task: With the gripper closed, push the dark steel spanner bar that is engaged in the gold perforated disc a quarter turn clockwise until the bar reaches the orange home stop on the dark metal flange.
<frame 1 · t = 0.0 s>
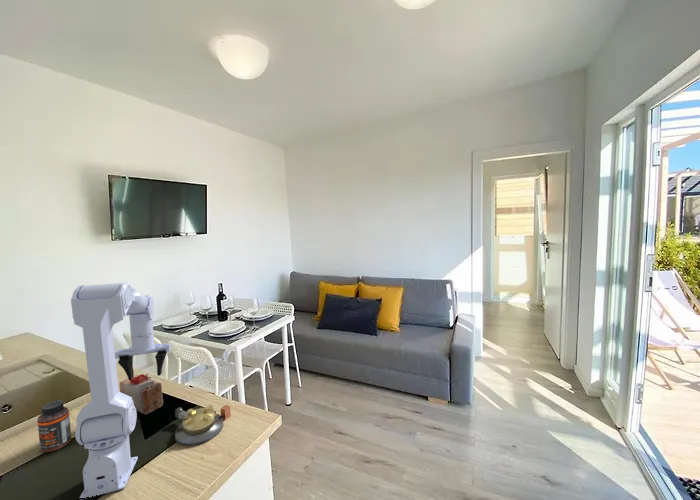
hand: (145, 376, 96), 10 cm above the cooktop, fingers open, 7 cm apart
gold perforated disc: (192, 416, 86), point 3 cm above the cooktop, hinge at 90.0°
flange: (200, 430, 85), on the cooktop
food item: (142, 405, 98), on the cooktop
supplement bottle: (56, 445, 80), on the cooktop
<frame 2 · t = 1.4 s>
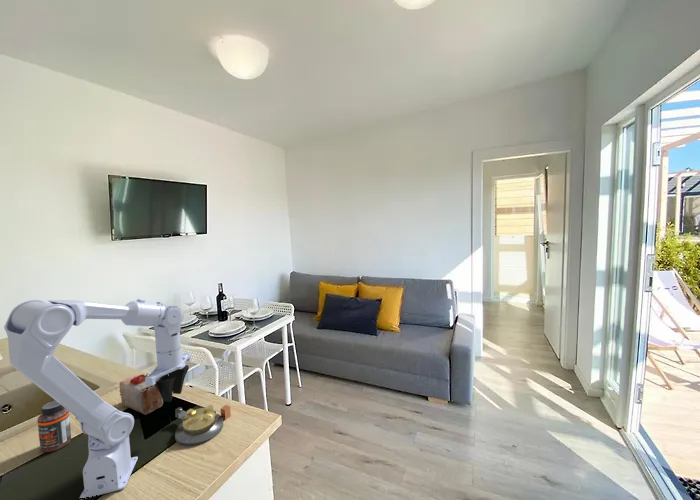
hand: (172, 396, 83), 10 cm above the cooktop, fingers open, 3 cm apart
nothing on the cooktop moved.
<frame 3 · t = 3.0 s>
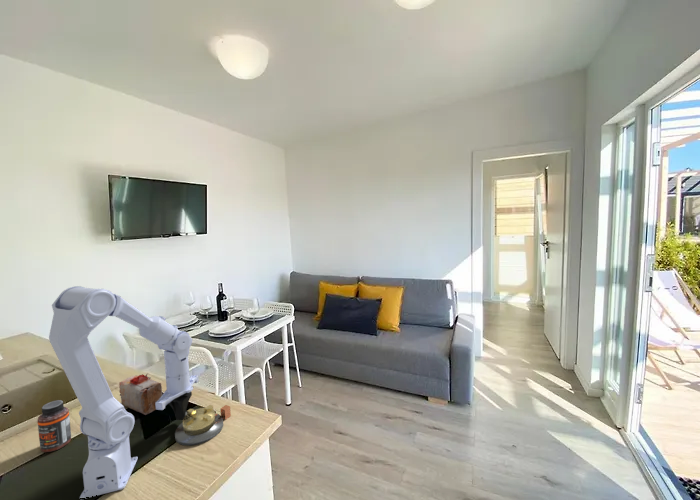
hand: (180, 418, 86), 2 cm above the cooktop, fingers closed, pressing on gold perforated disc
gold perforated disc: (192, 416, 86), point 3 cm above the cooktop, hinge at 89.9°, touching gripper
everything else where it was.
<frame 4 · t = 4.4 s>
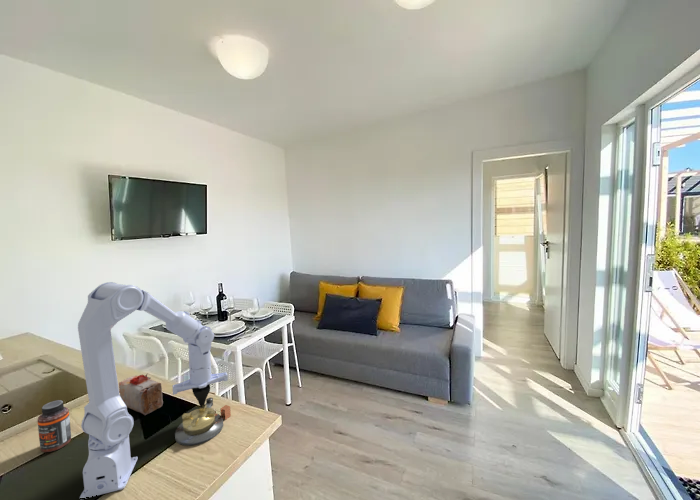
hand: (202, 409, 91), 2 cm above the cooktop, fingers closed, pressing on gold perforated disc
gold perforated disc: (202, 413, 88), point 3 cm above the cooktop, hinge at 32.6°, touching gripper
everything else where it was.
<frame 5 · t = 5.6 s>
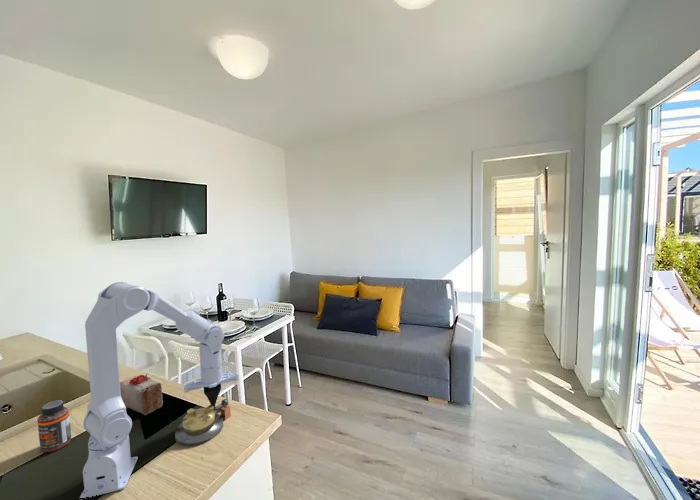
hand: (213, 408, 91), 2 cm above the cooktop, fingers closed
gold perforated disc: (207, 413, 87), point 3 cm above the cooktop, hinge at -1.9°, touching gripper
everything else where it was.
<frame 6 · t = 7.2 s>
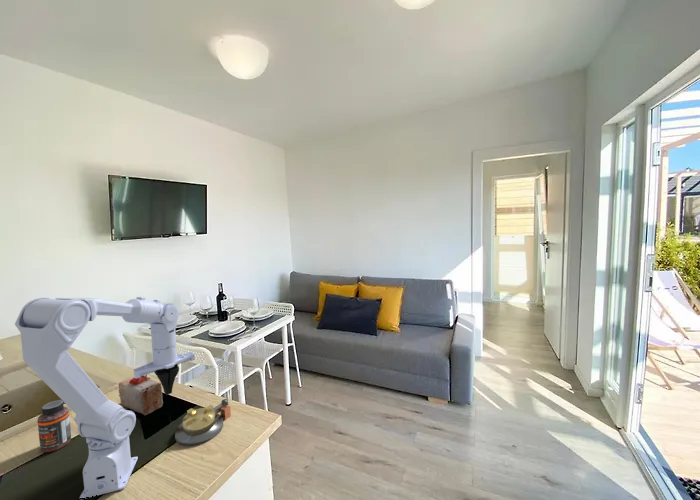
hand: (168, 392, 85), 10 cm above the cooktop, fingers closed
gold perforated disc: (207, 413, 87), point 3 cm above the cooktop, hinge at -1.9°
everything else where it was.
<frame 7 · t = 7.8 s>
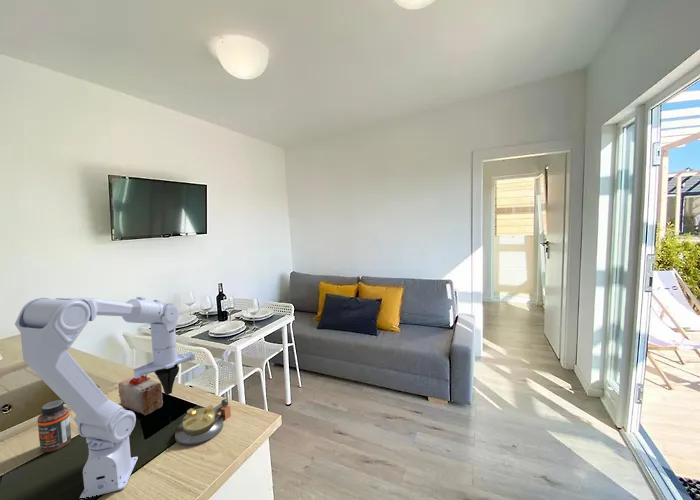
hand: (168, 392, 85), 10 cm above the cooktop, fingers closed
nothing on the cooktop moved.
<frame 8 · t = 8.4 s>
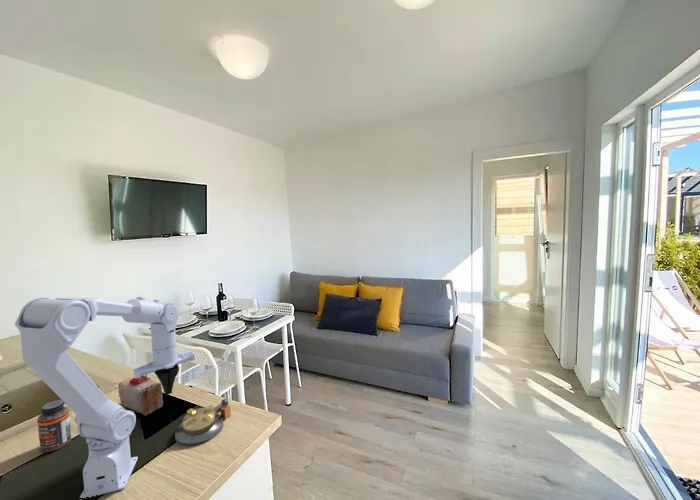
hand: (168, 392, 85), 10 cm above the cooktop, fingers closed
nothing on the cooktop moved.
at the end: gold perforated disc at -2° (first picture: +90°) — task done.
